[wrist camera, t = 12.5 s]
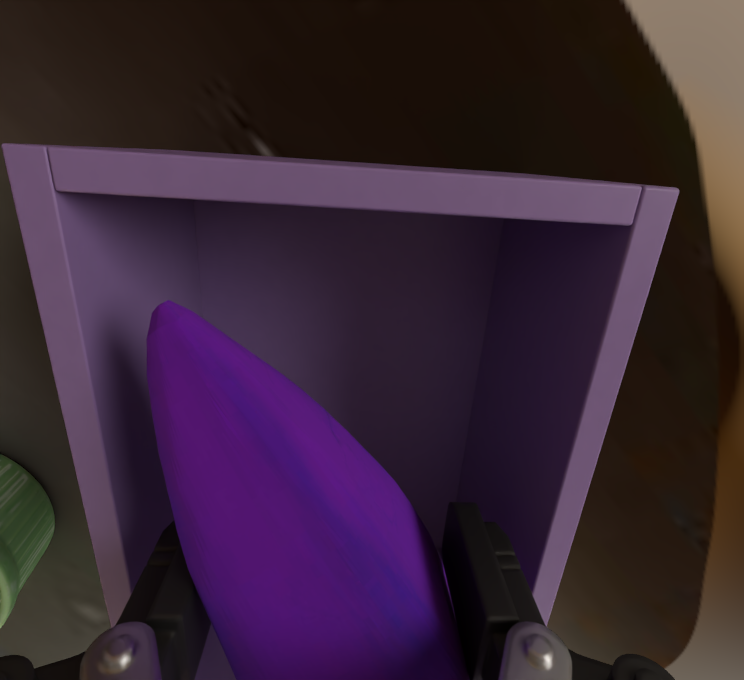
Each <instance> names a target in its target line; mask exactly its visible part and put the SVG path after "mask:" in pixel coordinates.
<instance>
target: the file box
mask: <svg viewBox="0 0 744 680" xmlns="http://www.w3.org/2000/svg"><path fill="white" fill-rule="evenodd" d="M1 147H2V151H3V155H4V160H5V164H6V169H7V173H8V177H9V182H10V186H11V191H12V195H13V199H14V204H15V208H16V212H17V217H18V221H19V226H20V230H21V234H22V239H23V243H24V248H25V252H26V256H27V261H28V265H29V269H30V274H31V278H32V283H33V287H34V291H35V296H36V300H37V305H38V309H39V313H40V318H41V322H42V326H43V331H44V335H45V340H46V344H47V348H48V353H49V357H50V362H51V366H52V370H53V375H54V379H55V383H56V388H57V392H58V397H59V401H60V405H61V410H62V414H63V419H64V423H65V427H66V432H67V436H68V440H69V445H70V449H71V454H72V458H73V462H74V467H75V471H76V476H77V480H78V484H79V489H80V493H81V497H82V502H83V506H84V511H85V515H86V519H87V524H88V528H89V533H90V537H91V541H92V546H93V550H94V555H95V559H96V563H97V568H98V572H99V576H100V581H101V585H102V590H103V594H104V598H105V603H106V607H107V612H108V616H109V620H110V625H111V628H112V627H114V626H115V625H116V623H117V621H118V620H119V618H120V616H121V614H122V612H123V610H124V608H125V606H126V604H127V602H128V600H129V598H130V596H131V594H132V592H133V590H134V588H135V586H136V584H137V582H138V580H139V578H140V576H141V574H142V572H143V570H144V568H145V566H147V562H148V560H149V558H150V556H151V554H152V552H154V548H155V546H156V544H157V542H158V540H159V538H160V536H161V534H162V532H163V530H164V529H166V528H167V527H168V526H169V525H170V524H171V523H172V522H173V521H174V517H173V513H172V508H171V504H170V500H169V496H168V491H167V487H166V483H165V479H164V474H163V470H162V466H161V462H160V458H159V453H158V447H157V441H156V435H155V429H154V423H153V417H152V410H151V403H150V396H149V389H148V381H147V341H146V339H147V334H148V330H149V325H150V320H151V315H152V312H153V311H154V310H155V308H156V307H157V306H158V305H160V304H161V303H163V302H165V301H167V300H170V301H172V302H174V303H176V304H179V305H181V306H183V307H185V308H187V309H190V310H192V311H193V312H195V313H196V314H198V315H199V316H200V317H202V318H203V319H205V320H206V321H208V322H209V323H210V324H212V325H213V326H215V327H216V328H218V329H219V330H220V331H222V332H223V333H225V334H226V335H228V336H229V337H230V338H232V339H233V340H235V341H236V342H238V343H239V344H240V345H242V346H243V347H245V348H246V349H248V350H249V351H250V352H252V353H253V354H255V355H256V356H258V357H259V358H261V359H262V360H263V361H265V362H266V363H268V364H269V365H271V366H272V367H273V368H275V369H276V370H278V371H279V372H280V373H282V374H283V375H284V376H285V377H287V378H288V379H289V380H291V381H292V382H293V383H294V384H296V385H297V386H298V387H300V388H301V389H302V390H303V391H304V392H306V393H307V394H308V395H309V396H310V397H311V398H312V399H314V400H315V401H316V402H317V403H318V404H319V405H320V406H322V407H323V408H324V409H325V410H326V411H327V412H328V413H329V414H330V415H331V416H332V417H333V418H334V419H335V420H336V421H337V422H338V423H339V424H340V425H342V426H343V427H344V428H345V429H346V430H347V431H348V432H349V433H350V434H351V435H352V436H353V437H354V438H355V440H356V441H357V442H358V443H359V444H360V445H361V446H362V447H363V448H364V449H365V450H366V451H367V452H368V453H369V454H370V455H371V456H372V457H373V458H374V459H375V460H376V461H377V462H378V463H379V464H380V465H381V466H382V467H383V468H384V469H385V471H386V472H387V473H388V474H389V475H390V476H391V477H392V478H393V479H394V481H395V482H396V483H397V484H398V486H399V487H400V489H401V490H402V492H403V493H404V494H405V496H406V497H407V499H408V500H409V501H410V503H411V505H412V506H413V508H414V509H415V511H416V512H417V514H418V515H419V517H420V518H421V520H422V522H423V523H424V525H425V527H426V528H427V530H428V531H429V533H430V535H431V538H432V540H433V542H434V545H435V547H436V549H437V552H438V554H439V557H440V559H441V561H442V564H443V559H442V540H443V534H444V528H445V522H446V515H447V509H448V505H449V503H450V502H475V503H476V504H477V505H478V508H479V511H480V513H481V516H482V519H483V522H496V523H497V525H498V526H499V527H500V528H501V529H502V530H503V531H504V532H505V533H506V534H507V536H508V537H509V540H510V542H511V544H512V547H513V549H514V552H515V556H517V559H518V561H519V564H520V566H521V570H522V571H523V573H524V576H525V578H526V580H527V583H528V585H529V588H530V590H531V592H532V595H533V597H534V600H535V602H536V605H537V607H538V609H539V612H540V614H541V617H542V619H543V621H544V623H545V625H546V627H547V623H548V620H549V617H550V613H551V610H552V607H553V604H554V600H555V597H556V594H557V590H558V587H559V584H560V581H561V577H562V574H563V571H564V568H565V564H566V561H567V558H568V554H569V551H570V548H571V545H572V541H573V538H574V535H575V531H576V528H577V525H578V522H579V518H580V515H581V512H582V509H583V505H584V502H585V499H586V495H587V492H588V489H589V486H590V482H591V479H592V476H593V472H594V469H595V466H596V463H597V459H598V456H599V453H600V450H601V446H602V443H603V440H604V436H605V433H606V430H607V427H608V423H609V420H610V417H611V414H612V410H613V407H614V404H615V400H616V397H617V394H618V391H619V387H620V384H621V381H622V377H623V374H624V371H625V368H626V364H627V361H628V358H629V355H630V351H631V348H632V345H633V341H634V338H635V335H636V332H637V328H638V325H639V322H640V318H641V315H642V312H643V309H644V305H645V302H646V299H647V296H648V292H649V289H650V286H651V282H652V279H653V276H654V273H655V269H656V266H657V263H658V260H659V256H660V253H661V250H662V246H663V243H664V240H665V237H666V233H667V230H668V227H669V223H670V220H671V217H672V214H673V210H674V207H675V204H676V201H677V197H678V194H679V189H677V188H673V187H662V186H652V185H641V184H630V183H620V182H609V181H598V180H587V179H577V178H566V177H555V176H545V175H534V174H523V173H508V172H493V171H478V170H464V169H449V168H434V167H419V166H404V165H389V164H374V163H359V162H344V161H329V160H315V159H300V158H285V157H270V156H255V155H240V154H225V153H210V152H195V151H180V150H159V149H135V148H111V147H86V146H62V145H38V144H13V143H4V144H2V146H1ZM443 566H444V565H443ZM195 680H236V678H235V676H234V673H233V671H232V669H231V667H230V664H229V662H228V660H227V658H226V655H225V653H224V651H223V648H222V646H221V644H220V642H219V639H218V637H217V635H216V633H215V630H214V628H213V626H212V624H211V626H210V629H209V632H208V636H207V639H206V643H205V646H204V649H203V653H202V656H201V659H200V663H199V666H198V669H197V673H196V676H195Z"/></svg>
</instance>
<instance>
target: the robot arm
mask: <svg viewBox="0 0 744 680" xmlns="http://www.w3.org/2000/svg"><path fill="white" fill-rule="evenodd" d="M442 559H443V565H444V570H445V574H446V579H447V583H448V588H449V592H450V596H451V601H452V605H453V609H454V614H455V618H456V623H457V627H458V631H459V635H460V639H461V643H462V647H463V652H464V656H465V661H466V665H467V670H468V675H469V680H675V679H674V678H673V677H672V676H671V675H670V674H669V673H668V672H667V671H666V670H665V669H664V668H663V667H661V666H660V665H658V664H657V663H656V662H654V661H652V660H650V659H648V658H646V657H644V656H640V655H636V654H625V655H621V656H620V657H618V658H617V659H616V660H615V662H614V664H613V666H612V665H609V664H606V663H603V662H600V661H597V660H594V659H590V658H587V657H584V656H582V655H579V654H577V653H575V652H573V651H571V650H569V649H568V648H567V647H566V645H565V644H564V642H563V641H562V640H561V639H560V638H559V636H558V635H557V634H555V633H554V632H553V631H552V630H550V629H549V628H547V627H546V625H545V623H544V621H543V619H542V617H541V614H540V612H539V609H538V607H537V605H536V602H535V600H534V597H533V595H532V592H531V590H530V588H529V585H528V583H527V580H526V578H525V576H524V573H523V571H522V570H521V566H520V564H519V561H518V559H517V556H515V552H514V549H513V547H512V544H511V542H510V540H509V537H508V536H507V534H506V533H505V532H504V531H503V530H502V529H501V528H500V527H499V526H498V525H497V523H496V522H483V519H482V516H481V513H480V511H479V508H478V505H477V504H476V503H475V502H450V503H449V505H448V509H447V515H446V522H445V528H444V534H443V540H442ZM210 626H211V621H210V619H209V617H208V614H207V612H206V610H205V608H204V605H203V603H202V601H201V598H200V596H199V594H198V591H197V589H196V587H195V584H194V582H193V579H192V577H191V575H190V572H189V570H188V567H187V564H186V560H185V557H184V554H183V550H182V547H181V544H180V540H179V537H178V534H177V530H176V525H175V521H173V522H172V523H171V524H170V525H169V526H168V527H167V528H166V529H164V530H163V532H162V534H161V536H160V538H159V540H158V542H157V544H156V546H155V548H154V552H152V554H151V556H150V558H149V560H148V562H147V566H145V568H144V570H143V572H142V574H141V576H140V578H139V580H138V582H137V584H136V586H135V588H134V590H133V592H132V594H131V596H130V598H129V600H128V602H127V604H126V606H125V608H124V610H123V612H122V614H121V616H120V618H119V620H118V621H117V623H116V625H115V626H114V627H112V628H110V629H108V630H107V631H105V632H104V633H102V634H101V635H100V636H99V637H98V638H97V639H95V640H94V641H93V643H92V644H91V645H90V646H89V648H88V649H87V651H85V652H83V653H81V654H79V655H76V656H73V657H71V658H68V659H64V660H61V661H58V662H54V663H51V664H48V665H45V666H41V667H38V668H35V669H34V667H33V665H32V663H31V661H30V660H29V659H27V658H26V657H24V656H19V655H9V656H4V657H0V680H195V676H196V673H197V669H198V666H199V663H200V659H201V656H202V653H203V649H204V646H205V643H206V639H207V636H208V632H209V629H210Z"/></svg>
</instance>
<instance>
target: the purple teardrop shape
mask: <svg viewBox="0 0 744 680" xmlns="http://www.w3.org/2000/svg"><path fill="white" fill-rule="evenodd" d="M146 341H147V381H148V389H149V396H150V403H151V410H152V417H153V423H154V429H155V435H156V441H157V447H158V453H159V458H160V462H161V466H162V470H163V474H164V479H165V483H166V487H167V491H168V496H169V500H170V504H171V508H172V513H173V517H174V521H175V525H176V530H177V534H178V537H179V540H180V544H181V547H182V550H183V554H184V557H185V560H186V564H187V567H188V570H189V572H190V575H191V577H192V579H193V582H194V584H195V587H196V589H197V591H198V594H199V596H200V598H201V601H202V603H203V605H204V608H205V610H206V612H207V614H208V617H209V619H210V621H211V624H212V626H213V628H214V630H215V633H216V635H217V637H218V639H219V642H220V644H221V646H222V648H223V651H224V653H225V655H226V658H227V660H228V662H229V664H230V667H231V669H232V671H233V673H234V676H235V678H236V680H469V675H468V670H467V665H466V661H465V656H464V652H463V647H462V643H461V639H460V635H459V631H458V627H457V623H456V618H455V614H454V609H453V605H452V601H451V596H450V592H449V588H448V583H447V579H446V574H445V570H444V566H443V564H442V561H441V559H440V557H439V554H438V552H437V549H436V547H435V545H434V542H433V540H432V538H431V535H430V533H429V531H428V530H427V528H426V527H425V525H424V523H423V522H422V520H421V518H420V517H419V515H418V514H417V512H416V511H415V509H414V508H413V506H412V505H411V503H410V501H409V500H408V499H407V497H406V496H405V494H404V493H403V492H402V490H401V489H400V487H399V486H398V484H397V483H396V482H395V481H394V479H393V478H392V477H391V476H390V475H389V474H388V473H387V472H386V471H385V469H384V468H383V467H382V466H381V465H380V464H379V463H378V462H377V461H376V460H375V459H374V458H373V457H372V456H371V455H370V454H369V453H368V452H367V451H366V450H365V449H364V448H363V447H362V446H361V445H360V444H359V443H358V442H357V441H356V440H355V438H354V437H353V436H352V435H351V434H350V433H349V432H348V431H347V430H346V429H345V428H344V427H343V426H342V425H340V424H339V423H338V422H337V421H336V420H335V419H334V418H333V417H332V416H331V415H330V414H329V413H328V412H327V411H326V410H325V409H324V408H323V407H322V406H320V405H319V404H318V403H317V402H316V401H315V400H314V399H312V398H311V397H310V396H309V395H308V394H307V393H306V392H304V391H303V390H302V389H301V388H300V387H298V386H297V385H296V384H294V383H293V382H292V381H291V380H289V379H288V378H287V377H285V376H284V375H283V374H282V373H280V372H279V371H278V370H276V369H275V368H273V367H272V366H271V365H269V364H268V363H266V362H265V361H263V360H262V359H261V358H259V357H258V356H256V355H255V354H253V353H252V352H250V351H249V350H248V349H246V348H245V347H243V346H242V345H240V344H239V343H238V342H236V341H235V340H233V339H232V338H230V337H229V336H228V335H226V334H225V333H223V332H222V331H220V330H219V329H218V328H216V327H215V326H213V325H212V324H210V323H209V322H208V321H206V320H205V319H203V318H202V317H200V316H199V315H198V314H196V313H195V312H193V311H192V310H190V309H187V308H185V307H183V306H181V305H179V304H176V303H174V302H172V301H170V300H167V301H165V302H163V303H161V304H160V305H158V306H157V307H156V308H155V310H154V311H153V312H152V315H151V320H150V325H149V330H148V334H147V339H146Z"/></svg>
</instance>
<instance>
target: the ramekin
mask: <svg viewBox="0 0 744 680" xmlns="http://www.w3.org/2000/svg"><path fill="white" fill-rule="evenodd" d="M54 529H55V515H54V511H53V507H52V505H51V502H50V499H49V497H48V496H47V494H46V492H45V491H44V489H43V488H42V486H41V485H40V484H39V482H38V481H37V480H36V479H35V478H34V477H33V476H32V475H31V474H30V473H29V472H27V471H26V470H25V469H24V468H23V467H21V466H20V465H18V464H17V463H15V462H14V461H12V460H11V459H9V458H7V457H5V456H3V455H1V454H0V628H1V627H2V626H3V625H4V623H5V622H6V620H7V618H8V617H9V615H10V613H11V611H12V609H13V607H14V605H15V602H16V599H17V595H18V594H19V592H20V590H21V589H22V587H23V585H24V584H25V582H26V581H27V579H28V577H29V576H30V574H31V573H32V571H33V570H34V568H35V566H36V565H37V563H38V562H39V560H40V559H41V557H42V555H43V554H44V552H45V551H46V549H47V547H48V545H49V543H50V541H51V539H52V537H53V533H54Z"/></svg>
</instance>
